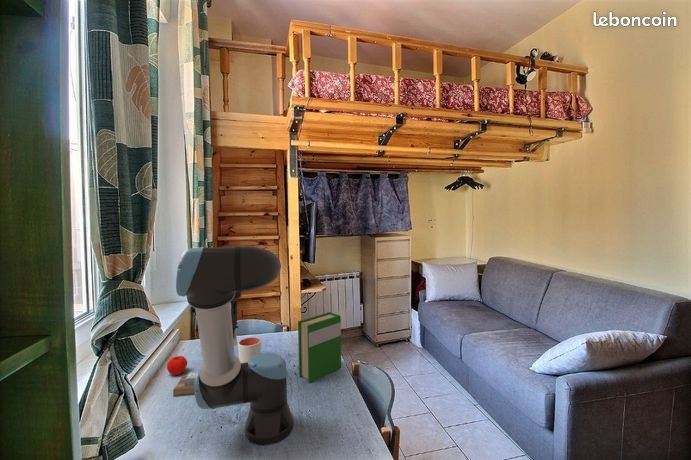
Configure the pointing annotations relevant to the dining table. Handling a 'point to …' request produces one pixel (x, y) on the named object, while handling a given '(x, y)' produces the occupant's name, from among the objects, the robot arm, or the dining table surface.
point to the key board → (183, 388)
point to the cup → (248, 348)
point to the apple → (177, 365)
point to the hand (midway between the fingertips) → (233, 345)
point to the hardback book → (319, 346)
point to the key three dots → (190, 378)
